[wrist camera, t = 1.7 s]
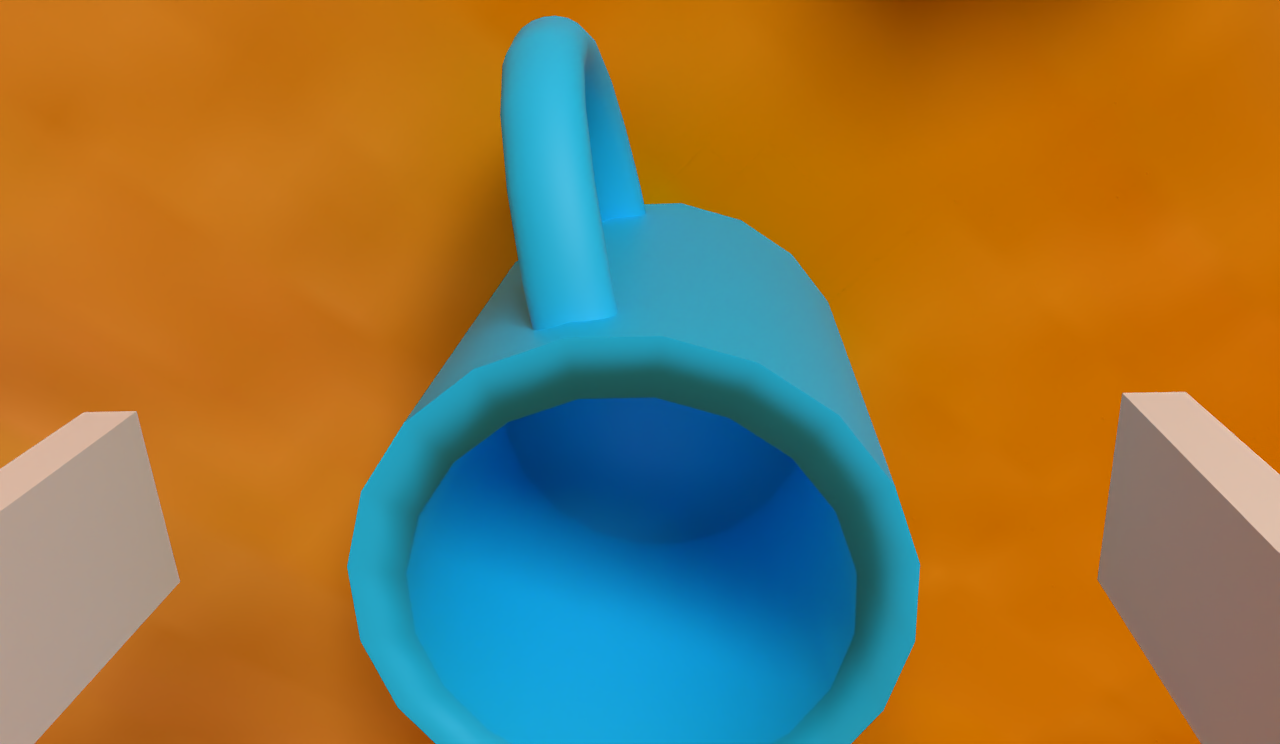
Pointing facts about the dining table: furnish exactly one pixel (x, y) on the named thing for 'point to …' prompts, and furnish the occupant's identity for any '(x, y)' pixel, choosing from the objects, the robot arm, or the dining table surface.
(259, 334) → the dining table surface
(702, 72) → the dining table surface
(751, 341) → the mug
